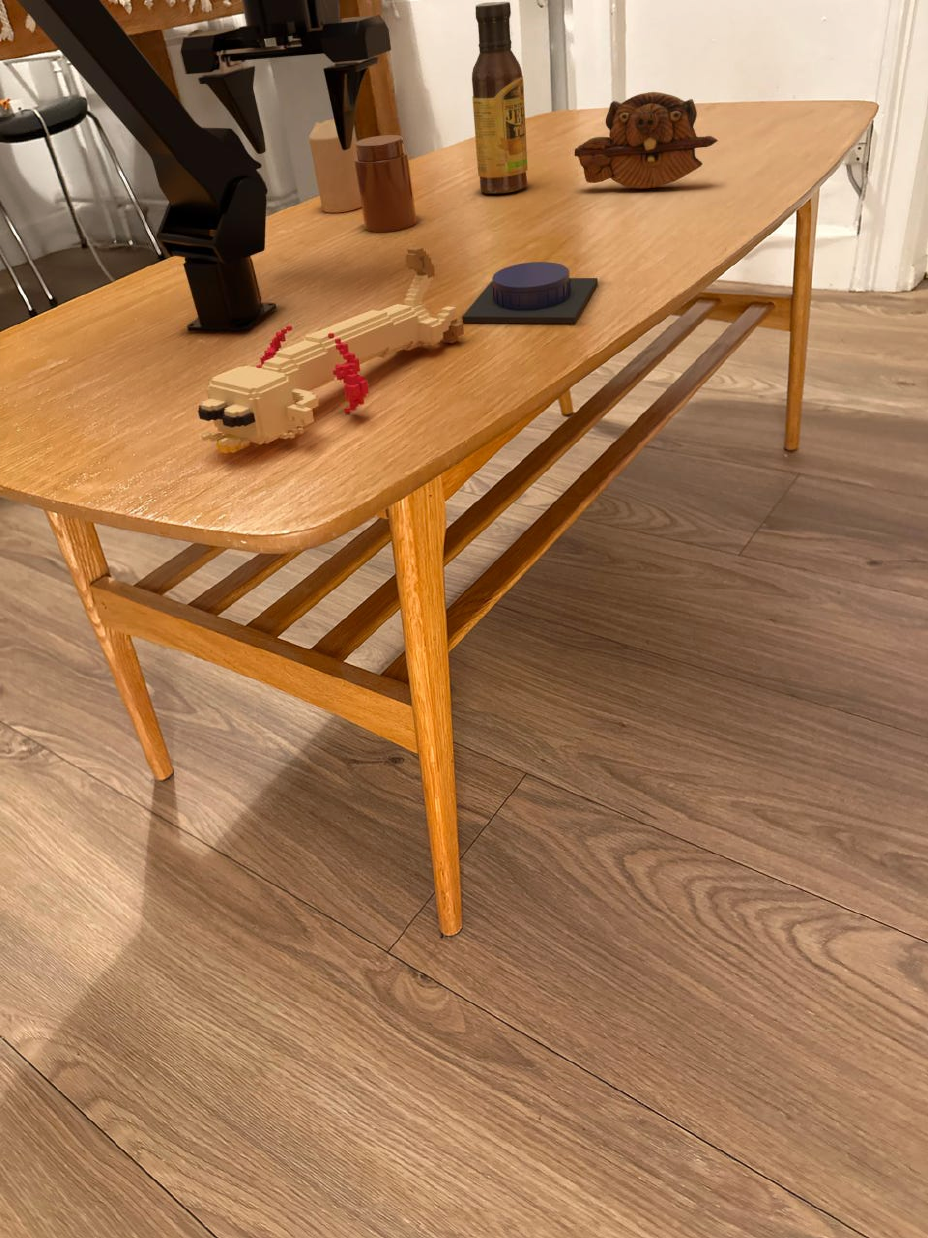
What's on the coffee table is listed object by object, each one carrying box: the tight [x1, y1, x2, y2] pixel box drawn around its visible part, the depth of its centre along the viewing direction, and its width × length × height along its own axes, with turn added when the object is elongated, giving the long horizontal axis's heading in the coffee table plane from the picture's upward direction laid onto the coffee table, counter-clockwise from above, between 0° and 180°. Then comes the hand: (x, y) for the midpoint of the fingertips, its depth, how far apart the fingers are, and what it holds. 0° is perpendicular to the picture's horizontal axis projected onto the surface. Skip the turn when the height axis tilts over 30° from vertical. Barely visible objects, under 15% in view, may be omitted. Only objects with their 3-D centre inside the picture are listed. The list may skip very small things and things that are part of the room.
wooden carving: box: [574, 91, 719, 189], centre depth 107 cm, size 16×5×10 cm, turn 76°
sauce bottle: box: [471, 1, 529, 194], centre depth 111 cm, size 6×6×20 cm
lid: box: [491, 261, 571, 310], centre depth 81 cm, size 7×7×2 cm
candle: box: [308, 118, 362, 213], centre depth 115 cm, size 6×6×10 cm
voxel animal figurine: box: [197, 246, 465, 455], centre depth 68 cm, size 10×9×25 cm
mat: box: [461, 277, 599, 325], centre depth 82 cm, size 10×10×1 cm
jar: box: [354, 134, 418, 233], centre depth 106 cm, size 6×6×9 cm
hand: (303, 150), depth 87 cm, fingers open, 9 cm apart
